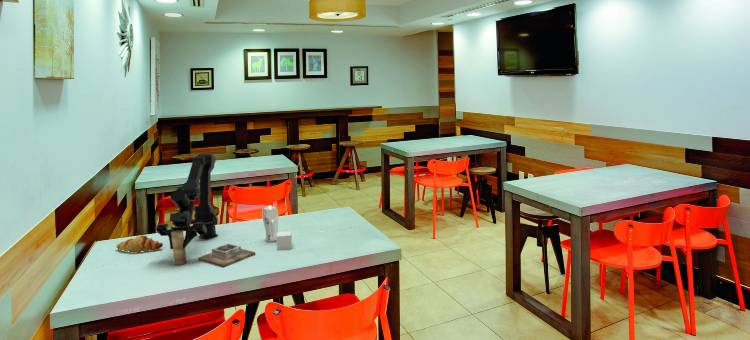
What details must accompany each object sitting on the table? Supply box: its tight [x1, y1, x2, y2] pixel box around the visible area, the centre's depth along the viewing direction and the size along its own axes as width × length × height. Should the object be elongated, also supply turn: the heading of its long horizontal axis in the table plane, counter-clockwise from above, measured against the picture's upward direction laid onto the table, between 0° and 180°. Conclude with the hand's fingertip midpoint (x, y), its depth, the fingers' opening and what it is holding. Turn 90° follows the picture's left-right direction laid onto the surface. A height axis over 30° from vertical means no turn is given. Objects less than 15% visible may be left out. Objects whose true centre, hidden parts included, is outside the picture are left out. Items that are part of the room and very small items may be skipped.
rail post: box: [171, 230, 188, 266], centre depth 186 cm, size 4×4×13 cm
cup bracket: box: [197, 243, 256, 268], centre depth 192 cm, size 16×16×4 cm
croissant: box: [116, 234, 164, 253], centre depth 204 cm, size 21×10×8 cm
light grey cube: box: [276, 230, 293, 251], centre depth 202 cm, size 6×6×6 cm
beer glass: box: [261, 205, 279, 243], centre depth 211 cm, size 7×7×15 cm
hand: (177, 248), depth 185 cm, fingers closed on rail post, 4 cm apart
